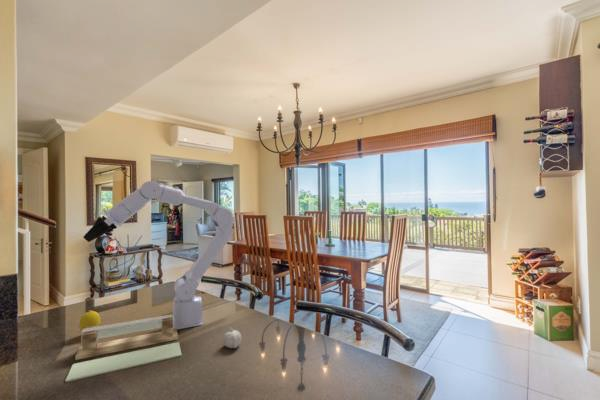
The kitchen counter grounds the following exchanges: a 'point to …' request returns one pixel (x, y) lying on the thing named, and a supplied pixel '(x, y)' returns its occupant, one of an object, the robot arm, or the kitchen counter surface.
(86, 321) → the lemon
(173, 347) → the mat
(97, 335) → the rail
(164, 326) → the rack
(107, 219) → the robot arm
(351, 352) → the kitchen counter surface
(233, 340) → the garlic
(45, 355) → the kitchen counter surface
